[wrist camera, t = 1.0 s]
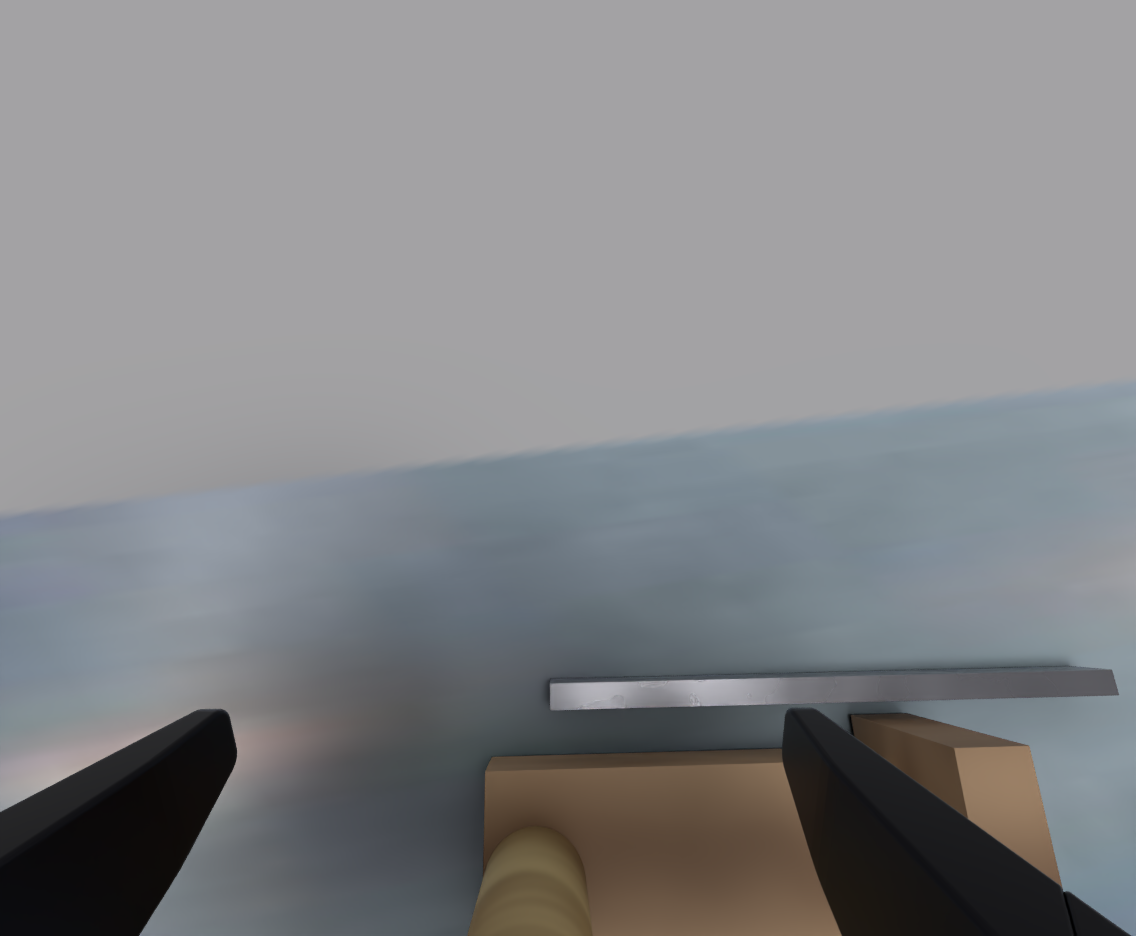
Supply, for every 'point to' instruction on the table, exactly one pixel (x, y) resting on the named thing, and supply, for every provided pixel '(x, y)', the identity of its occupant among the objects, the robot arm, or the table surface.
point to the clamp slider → (711, 833)
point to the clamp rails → (829, 687)
